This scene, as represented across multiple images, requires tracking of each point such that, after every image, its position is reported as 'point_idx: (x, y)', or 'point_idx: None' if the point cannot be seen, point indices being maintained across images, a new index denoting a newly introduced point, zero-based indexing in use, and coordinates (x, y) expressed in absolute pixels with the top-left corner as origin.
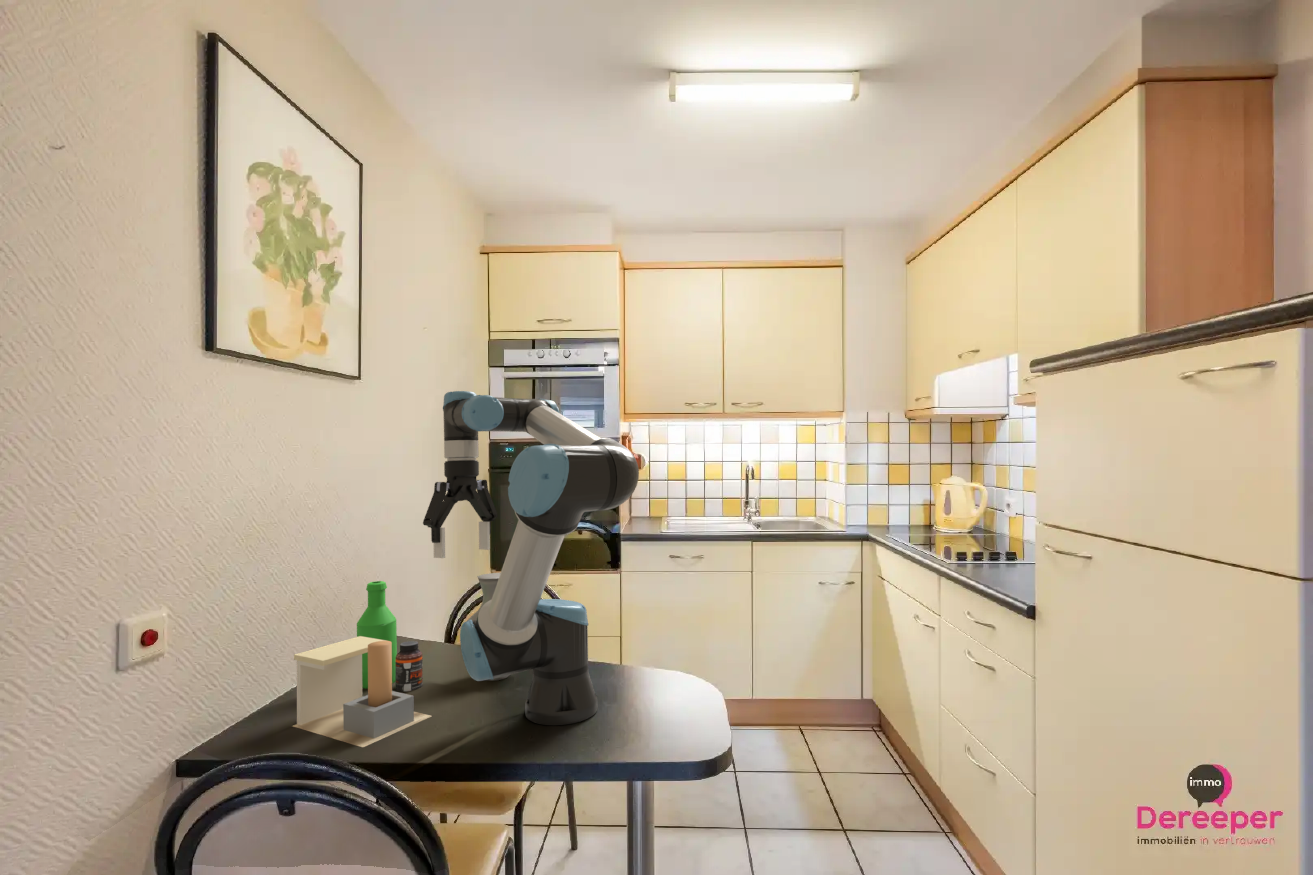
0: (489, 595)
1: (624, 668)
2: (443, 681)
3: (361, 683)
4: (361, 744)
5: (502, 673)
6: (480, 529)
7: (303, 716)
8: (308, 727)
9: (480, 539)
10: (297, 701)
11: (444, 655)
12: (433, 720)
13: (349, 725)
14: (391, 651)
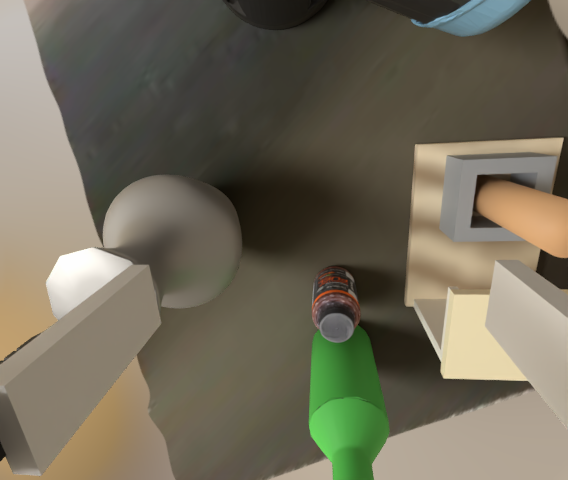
0: (163, 266)
1: (35, 7)
2: (274, 272)
3: (423, 314)
4: (555, 150)
5: None
6: (85, 399)
7: None
8: None
9: (128, 349)
10: None
11: (189, 363)
12: (409, 147)
13: None
14: (542, 206)
